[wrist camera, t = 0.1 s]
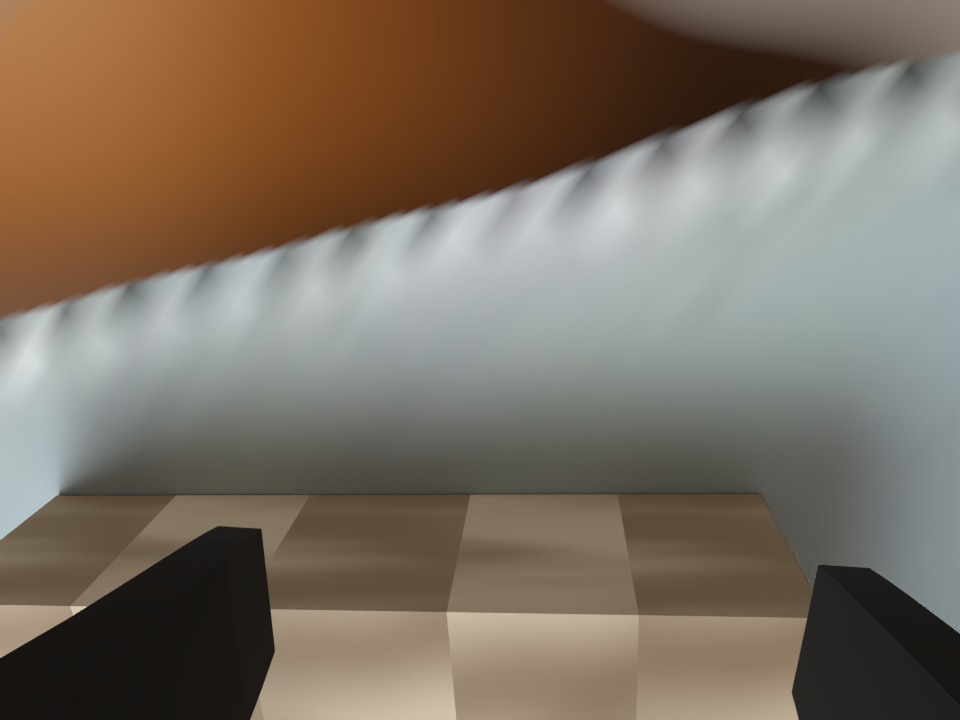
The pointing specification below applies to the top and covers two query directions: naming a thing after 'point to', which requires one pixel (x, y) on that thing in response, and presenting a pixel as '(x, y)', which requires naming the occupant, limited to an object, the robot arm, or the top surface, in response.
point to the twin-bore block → (465, 599)
